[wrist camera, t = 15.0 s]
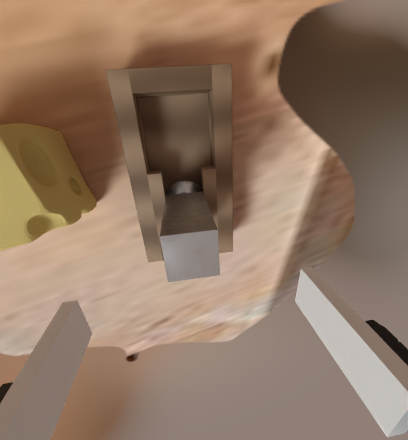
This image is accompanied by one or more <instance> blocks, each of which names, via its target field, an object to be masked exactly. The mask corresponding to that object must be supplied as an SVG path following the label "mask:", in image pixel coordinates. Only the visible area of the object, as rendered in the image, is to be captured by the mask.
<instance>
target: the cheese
mask: <svg viewBox="0 0 408 440" xmlns="http://www.w3.org/2000/svg"><path fill="white" fill-rule="evenodd" d="M96 204H97V201H96V199H95V197H94V195H93V194H92V192H91V191H90V189H89V187H88V186H87V184H86V182H85V180H84V178H83V176H82V174H81V172H80V170H79V168H78V166H77V164H76V162H75V160H74V158H73V156H72V154H71V152H70V150H69V148H68V146H67V144H66V142H65V139H64V137H63V135H62V133H61V132H60V131H59V130H54V129H51V128H47V127H43V126H39V125H34V124H25V123H16V124H3V125H0V251H1V250H5V249H8V248H12V247H16V246H20V245H23V244H27V243H30V242H32V241H34V240H36V239H37V238H38V237H40V236H41V235H43V234H44V233H46V232H48V231H50V230H53V229H56V228H59V227H64V226H68V225H71V224H73V223H75V222H77V221H78V220H79V219H80V218H81V214H83V213H87V212H90V211H91V210H93V209H94V208H95V207H96Z"/></svg>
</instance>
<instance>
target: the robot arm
mask: <svg viewBox="0 0 408 440" xmlns="http://www.w3.org/2000/svg"><path fill="white" fill-rule="evenodd" d="M295 302H296V303H297V305H298V306H299V308H300V309H301V311H302V312H303V314H304V315H305V316H306V318H307V319H308V321H309V322H310V324H311V325H312V327H313V328H314V330H315V331H316V333H317V334H318V336H319V337H320V339H321V340H322V342H323V343H324V345H325V346H326V348H327V349H328V350H329V352H330V353H331V355H332V356H333V358H334V359H335V361H336V362H337V364H338V365H339V367H340V368H341V370H342V371H343V373H344V374H345V376H346V377H347V379H348V380H349V382H350V383H351V384H352V386H353V387H354V389H355V390H356V392H357V393H358V395H359V396H360V398H361V399H362V401H363V402H364V404H365V405H366V407H367V408H368V409H369V411H370V412H371V414H372V415H373V417H374V418H375V420H376V421H377V423H378V424H379V426H380V427H381V429H382V430H383V432H384V433H385V435H386V436H387V437H390V436H395V435H399V434H403V433H406V432H407V430H408V350H407V348H406V347H405V346H404V345H403V344H402V343H401V342H398V339H397V338H396V337H394V336H393V335H392V334H391V333H390V332H389V331H388V330H387V329H386V328H385V327H383V326H381V325H380V324H378V323H377V322H375V321H374V320H369V321H364V320H363V319H362V318H361V317H360V316H359V315H358V314H357V313H356V311H355V310H354V309H353V308H352V307H351V306H350V305H349V304H348V303H347V302H346V301H345V300H344V299H343V298H342V297H341V296H340V295H339V294H338V293H337V292H336V291H335V290H334V289H333V288H332V286H331V285H330V284H329V283H328V282H327V281H326V280H325V279H324V278H323V277H322V276H321V275H320V274H319V273H318V272H317V271H316V270H315V269H314V268H313V267H309V268H302V269H301V271H300V277H299V283H298V288H297V294H296V300H295ZM91 335H92V332H91V329H90V327H89V325H88V323H87V321H86V319H85V316H84V314H83V312H82V310H81V308H80V305H79V303H78V301H71V302H64V303H62V305H61V306H60V308H59V310H58V311H57V313H56V314H55V316H54V318H53V319H52V321H51V322H50V324H49V326H48V327H47V329H46V331H45V332H44V334H43V335H42V337H41V339H40V340H39V342H38V343H37V345H36V347H35V348H34V350H33V351H32V353H31V355H30V356H29V358H28V360H27V361H26V363H25V364H24V366H23V368H22V369H21V371H20V372H19V374H18V376H17V377H16V379H15V381H14V382H12V383H6V384H3V385H2V386H1V387H0V440H51V437H52V435H53V433H54V430H55V427H56V425H57V422H58V419H59V417H60V415H61V412H62V409H63V407H64V404H65V402H66V399H67V397H68V394H69V391H70V389H71V386H72V384H73V381H74V379H75V376H76V374H77V371H78V368H79V366H80V363H81V361H82V358H83V356H84V353H85V350H86V348H87V345H88V343H89V340H90V338H91Z"/></svg>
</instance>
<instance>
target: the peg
mask: <svg viewBox="0 0 408 440" xmlns="http://www.w3.org/2000/svg"><path fill="white" fill-rule="evenodd" d="M165 194H166V198H165V204H164V211H163V218H162V224H161V231H160V241H161V246H162V252H163V257H164V263H165V268H166V273H167V279H168V282H173V281H180V280H187V279H195V278H202V277H209V276H216V275H220V267H219V244H218V229H217V226H216V224H215V221H214V219H213V216H212V214H211V211H210V209H209V206H208V204H207V201H206V199H205V196H204V194H203V190H202V187H201V185H200V184H198V183H197V182H195V181H193V180H190V179H179V180H176V181H174V182H173V183H171V184H170V185H169V186H168V187H167V189H166V190H165Z"/></svg>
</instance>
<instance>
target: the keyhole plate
mask: <svg viewBox="0 0 408 440" xmlns="http://www.w3.org/2000/svg"><path fill="white" fill-rule="evenodd" d="M106 74H107V78H108V83H109V87H110V92H111V96H112V101H113V105H114V110H115V114H116V119H117V123H118V128H119V132H120V137H121V141H122V146H123V150H124V155H125V159H126V164H127V168H128V173H129V177H130V182H131V186H132V191H133V195H134V200H135V204H136V209H137V213H138V218H139V222H140V227H141V231H142V236H143V240H144V245H145V249H146V254H147V258H148V262H154V261H162V260H164V257H163V252H162V246H161V241H160V231H161V224H162V218H163V211H164V204H165V198H166V194H165V190H166V189H167V187H168V186H169V185H170V184H171V183H173V182H174V181H176V180H179V179H190V180H193V181H195V182H197V183H198V184H200V185H201V187H202V190H203V194H204V196H205V199H206V201H207V204H208V206H209V209H210V211H211V214H212V216H213V219H214V221H215V224H216V226H217V229H218V244H219V253H224V252H232V251H233V196H232V64H215V65H194V66H173V67H152V68H131V69H110V70H106Z"/></svg>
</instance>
